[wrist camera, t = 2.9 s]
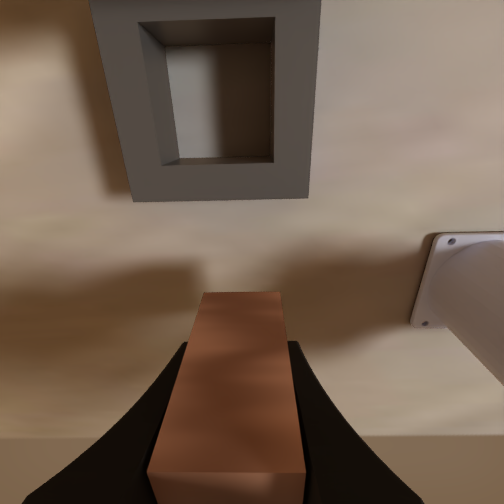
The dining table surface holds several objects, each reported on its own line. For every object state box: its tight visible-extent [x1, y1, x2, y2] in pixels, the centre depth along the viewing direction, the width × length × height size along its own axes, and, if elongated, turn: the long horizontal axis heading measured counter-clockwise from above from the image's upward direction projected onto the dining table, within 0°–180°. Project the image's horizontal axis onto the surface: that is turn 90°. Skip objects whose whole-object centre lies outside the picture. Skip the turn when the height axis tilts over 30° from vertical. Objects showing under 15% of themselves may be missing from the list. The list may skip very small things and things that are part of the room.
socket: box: [88, 0, 321, 202], centre depth 13 cm, size 9×9×4 cm
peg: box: [147, 292, 306, 504], centre depth 11 cm, size 4×4×8 cm
